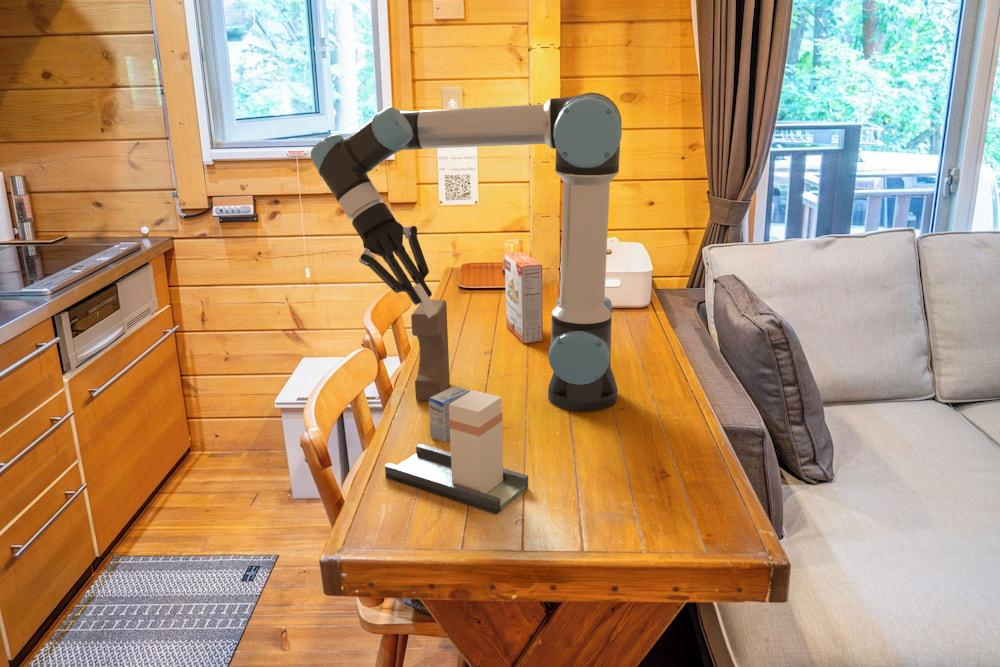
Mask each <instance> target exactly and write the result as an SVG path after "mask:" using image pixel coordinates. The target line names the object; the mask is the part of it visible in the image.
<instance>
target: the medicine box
mask: <svg viewBox="0 0 1000 667" xmlns="http://www.w3.org/2000/svg"><path fill="white" fill-rule="evenodd" d="M470 391H471V390H469V389H466V388H464V387H459V386H455V385H454V386H452V387H450V388H448V389H447V388H446V390H445V391H443V392H441V393H439V394H436V395H434V396H432V397H430V398H429V401H428V415H429V417H428V418H429V433H430V434H429V435H430V437H431V438H432V437H433V438H432V439H435V440H437V441H439V440H440V442H442V441H443V443H448V442H450V441H449V440H450V428H449V404H450V403H452V402H454V401H455V400H457V399H459V398H460V397H462V396H464V395H465V394H467V393H469V392H470Z"/></svg>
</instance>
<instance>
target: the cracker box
mask: <svg viewBox="0 0 1000 667" xmlns="http://www.w3.org/2000/svg"><path fill="white" fill-rule="evenodd" d="M504 274H505V275H504V279H505V286H504V287H505V315H506V316H505V317H506V319H505V320H506V321H505V322H506V324H505V325H506V328H507V329H508V330H509V331H510V333H512V334H513V335H514V336H515V338H517V340H518V341H519V342H520V343H522V344H523V345H526V344H527V345H528V344H532V343H540V342H543V341H544V337H543V336H544V335H543V334H544V330H543V328H544V326H543V322H544V321H543V319H544V318H543V314H544V313H543V264H541V263H539V261H538V260H536V259H534V258H533V257H531V256H530V255H528V254H527V252H524V251H523V252H513V253H512V252H511V253H510V252H509V253H505V254H504Z"/></svg>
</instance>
